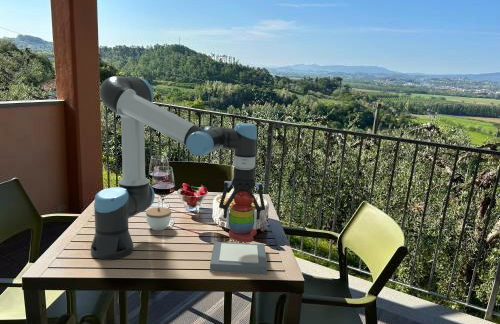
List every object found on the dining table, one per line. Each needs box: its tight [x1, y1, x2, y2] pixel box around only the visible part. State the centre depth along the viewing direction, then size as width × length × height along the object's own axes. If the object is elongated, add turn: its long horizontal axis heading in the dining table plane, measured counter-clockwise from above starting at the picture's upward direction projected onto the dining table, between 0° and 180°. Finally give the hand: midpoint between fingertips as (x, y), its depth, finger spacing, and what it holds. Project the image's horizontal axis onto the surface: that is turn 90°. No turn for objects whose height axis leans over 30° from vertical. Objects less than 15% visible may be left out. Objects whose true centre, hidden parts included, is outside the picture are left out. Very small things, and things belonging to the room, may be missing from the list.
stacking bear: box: [228, 191, 258, 243], centre depth 134 cm, size 11×10×18 cm
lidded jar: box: [145, 206, 172, 231], centre depth 163 cm, size 11×11×9 cm
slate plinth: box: [209, 241, 268, 275], centre depth 138 cm, size 20×18×3 cm
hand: (241, 226), depth 135 cm, fingers closed on stacking bear, 9 cm apart
